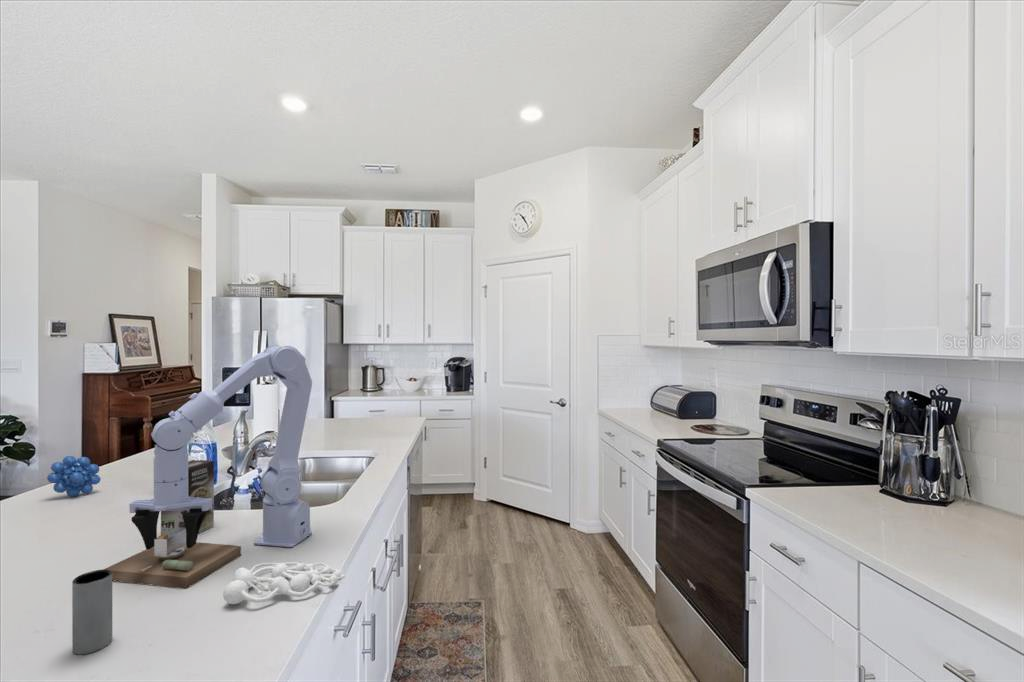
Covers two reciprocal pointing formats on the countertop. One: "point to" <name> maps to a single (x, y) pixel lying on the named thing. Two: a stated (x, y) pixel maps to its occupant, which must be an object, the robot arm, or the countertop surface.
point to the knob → (170, 544)
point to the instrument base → (171, 577)
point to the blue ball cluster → (74, 476)
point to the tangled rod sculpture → (279, 581)
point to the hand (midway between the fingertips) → (171, 546)
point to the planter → (91, 611)
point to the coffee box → (197, 487)
